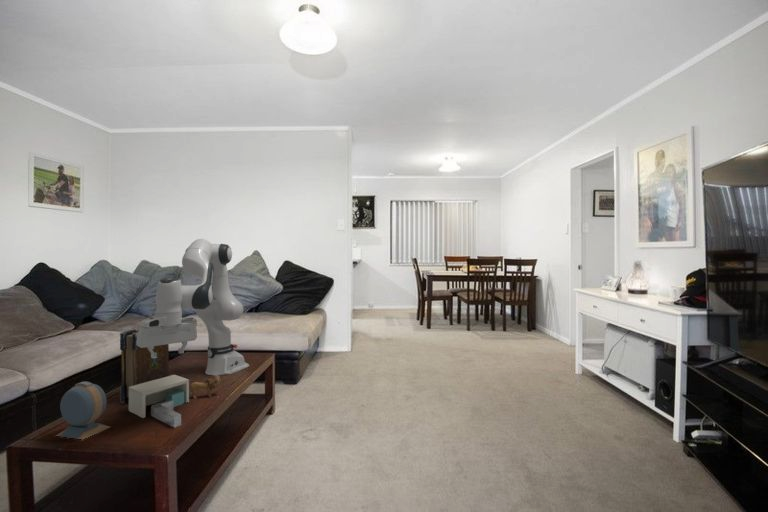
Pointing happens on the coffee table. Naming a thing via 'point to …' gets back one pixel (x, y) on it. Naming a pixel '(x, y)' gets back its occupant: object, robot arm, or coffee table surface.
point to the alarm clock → (83, 410)
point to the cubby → (155, 392)
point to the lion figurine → (205, 386)
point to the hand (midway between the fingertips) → (167, 355)
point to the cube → (176, 397)
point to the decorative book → (140, 363)
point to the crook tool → (166, 413)
